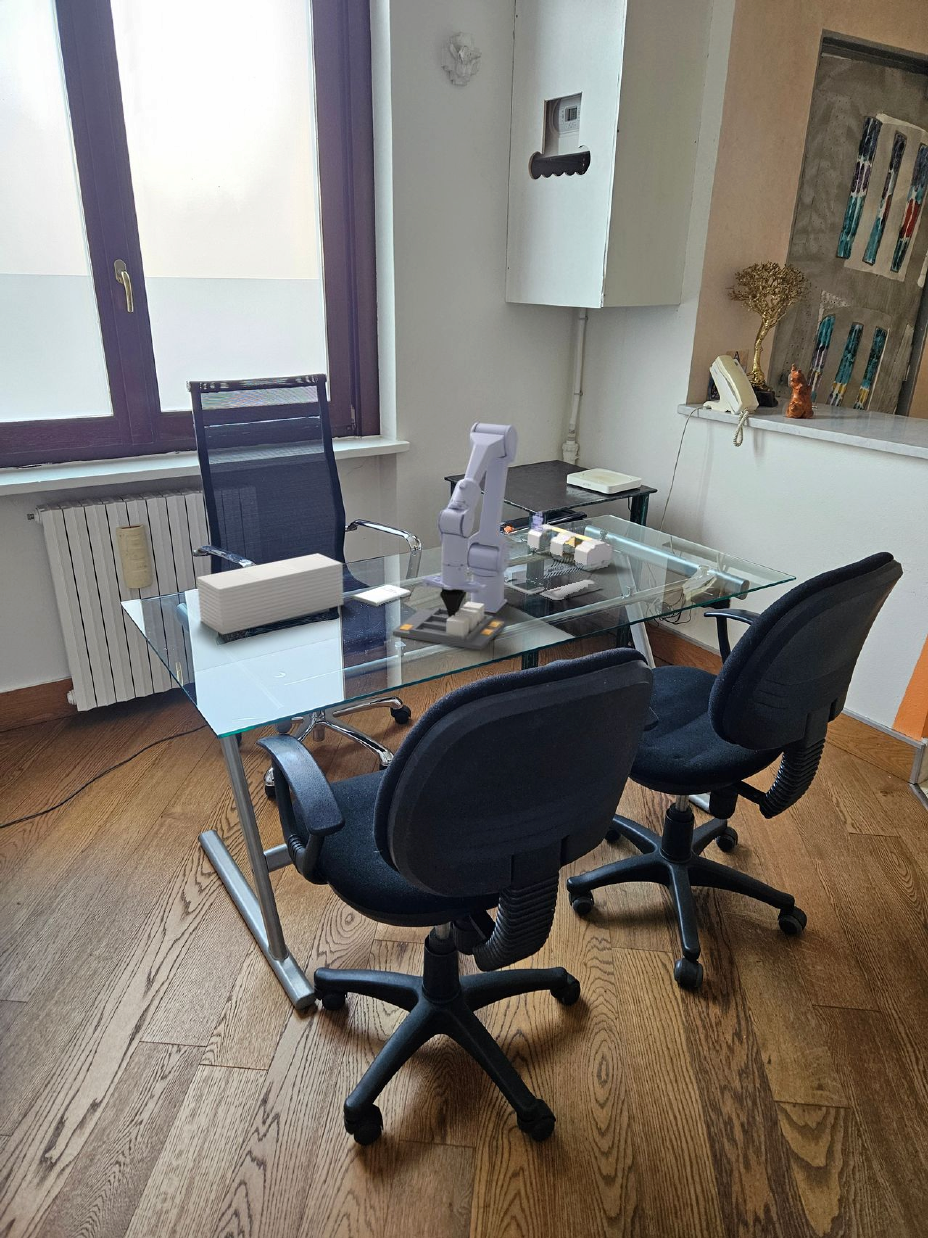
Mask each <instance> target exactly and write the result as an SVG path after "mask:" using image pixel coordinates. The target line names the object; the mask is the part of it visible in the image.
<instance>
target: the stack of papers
mask: <svg viewBox="0 0 928 1238" xmlns="http://www.w3.org/2000/svg"><path fill="white" fill-rule="evenodd" d="M343 582H344V575H343V562H340V561H338V560H335V559H332V558H330V557H328V556H326V555H323V554H321V553H319V552H318V553H313V554H307V555H303V556H302V555H301V556H298V557H297V556H296V557H292V558H288V559H283V560H278V561H273V562H268V563H267V562H266V563H262V564H256V565H253V566H248V567H241V568H238V569H233V570H228V571H227V570H226V571H222V572H218V573H212V574H207V575H201V576H197V577H196V583H197V594H198V605H199V613H200V615H199V617H200V622H202V623H203V624H205V625H206V626H208V627H210V628H211V629H213V630H215V631H216V632H217V633H219V634H221V635H225V634H226V635H227V634H230V633H234V632H237V631H238V632H239V631H242V630H247V629H250V628H254V627H259V626H263V625H267V624H270V623H275V622H278V621H279V622H280V621H282V620H286V619H291V618H295V617H298V616H302V615H306V614H311V613H314V612H319V611H322V610H326V609H331V608H335V607H340V606H343V605H344V583H343Z"/></svg>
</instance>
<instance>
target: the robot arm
mask: <svg viewBox="0 0 928 1238" xmlns="http://www.w3.org/2000/svg"><path fill="white" fill-rule="evenodd" d="M518 436H519V435H518V432H517V429H516V427H515V426H514V425H513V424H512V425H511V424H509V425H504V424H495V423H494V424H493V423H481V422H475V423H474V424H473V425H472V427H471V429H470V433H469V444H470V445H469V446H470V450H471V454H470V457H469V461H468V463H467V468H466V471H465V475H464V477H463V479H459V480H458V481H457V483H456V485H455V487H454V489H453V493H452V495H451V498H450V500H449V501H448V505H447V507H446V508H445V509H442V510H441V511H440V513H439V514H438V518H437V523H436V526H437V527H436V528H437V531H438V534H439V537H438V539H439V542H441V568H440V569H441V572H440V576H428V575H426V576H424V577H423V578H422V584H421V585H422V587H423V588H424V587H425V588H427V587H430V588H438V589H441V592H440V593H439V596H440V598H441V600H442V601H443V604H444V606H445V609H447V612H448V616H449V617H451V616H452V615H454V616H455V613H456V612H457V611H458V610H459V609H460V607H461V604H462V603H463V601H464V598H465V597H466V595H467V593H470V602H475V603H481V604H484V613H492V614H496V613H497V612H498V611H500V609H501V608H502V607H503V606H505V604H506V603H508V600H507V599H504V597H505V587H504V576H505V574H504V572H506V571H507V569H508V567H509V564H510V542H509V541H508V540H507V539H506V537H504V535H503V534H502V533H501V525H502V517H503V516H502V515H503V507H504V502H505V500H504V499H505V492H506V485H507V478H508V477H507V476H508V470H509V465H510V464H511V463H514V462H515V459H516V455H517V448H518V443H519V442H518V440H519V437H518ZM484 476H485V482H484V488H483V489H484V490H483V499H482V505H481V514H480V522H479V531H478V532H475V533H474V534H472V535H471V533H472V531H473V529H474V528H473V527H474V520H475V510H476V507H477V504H478V501H479V499H480V497H481V493H482V488H481V487H480V483H481V481H482V479H483V477H484ZM470 535H471V536H470ZM469 536H470V537H469ZM487 544H489V545H487ZM468 571H469V573H471V580H469V579H468Z"/></svg>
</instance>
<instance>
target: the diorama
mask: <svg viewBox="0 0 928 1238" xmlns="http://www.w3.org/2000/svg"><path fill="white" fill-rule="evenodd" d="M542 516H543V512H542V511H538V512H537V513H535V515H532V521H531V525H530V526H531V529H530V530H529V531H528V532H527V543H526V544H527V545H529V546H531V547H535V548H537V549H539V550H540V545H541V543H540V542H541V537H542V535H546V533H547V532H548V531H551V539H550V543H551V544H550V543H549V545H550V547H549V553H550V552H551V553H553V554H556V555H560V556H562V557H563V553H564V552H563V544H564V543H565V544H569V545H571V546H573V547H576V548H575V553H574V556H573V561H574V560H575V561H576V562H578V563H582V564H583V565H591V564H595V563H599V562H601V561H603V560H609V559H611V558H612V559H613V554H614V553H613V551H614V547H613V546H612V545H611V544H610V543H609V544H608V543H607V542H604V541H602V540H598V539H595V538H592V537H589V536H586V535H582V534H579V533H575V532H572V531H569V530H566V529H562V528H559V527H557V526H555V525H554V526H553V525H550V524H547V523H544V524H543V522H544V518H543V517H542Z"/></svg>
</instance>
